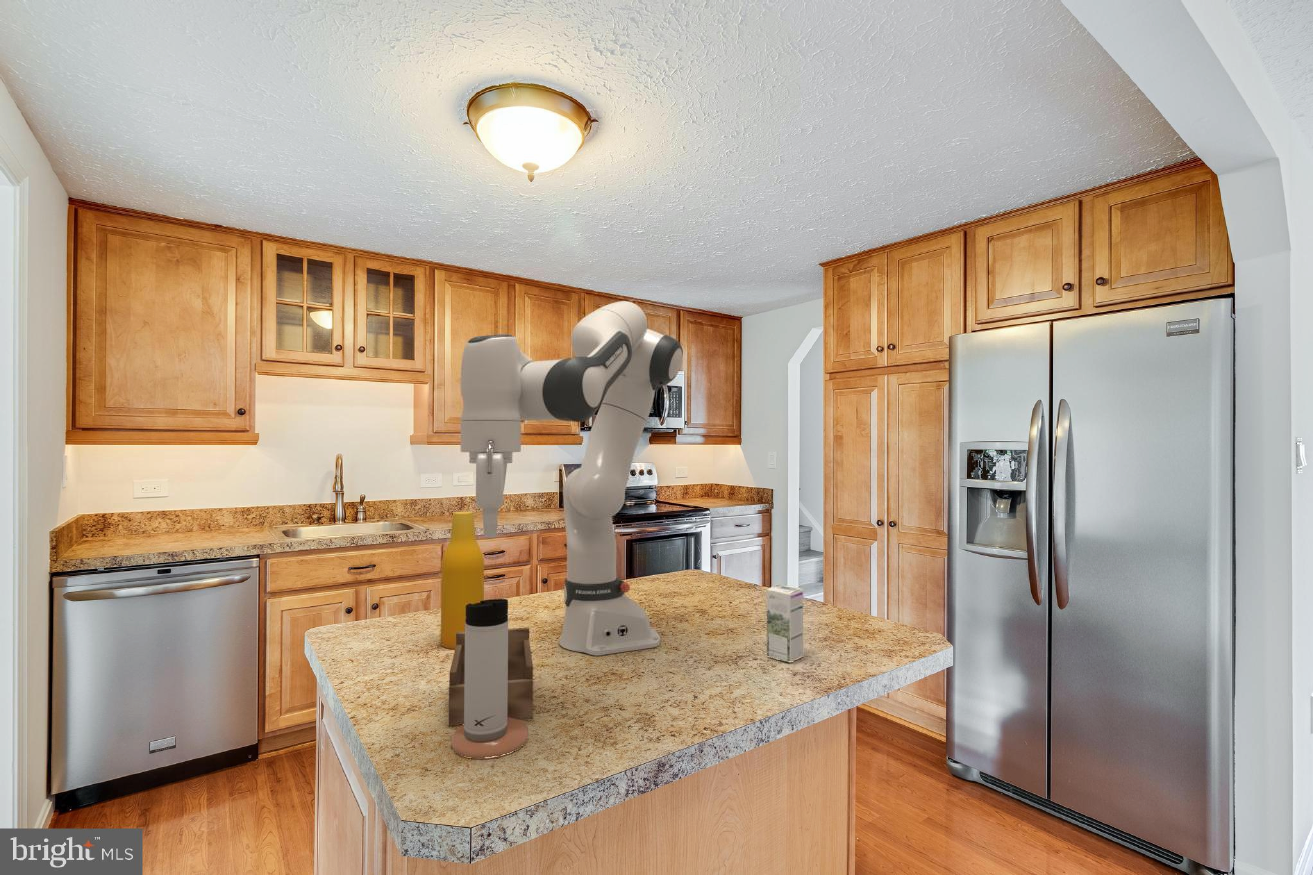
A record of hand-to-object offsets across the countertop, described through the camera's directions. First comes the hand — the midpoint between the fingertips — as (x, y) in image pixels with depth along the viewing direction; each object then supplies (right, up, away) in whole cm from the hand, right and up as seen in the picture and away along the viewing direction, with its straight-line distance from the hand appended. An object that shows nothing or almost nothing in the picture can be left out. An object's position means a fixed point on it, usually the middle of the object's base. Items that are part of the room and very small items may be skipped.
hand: (490, 532), depth 94 cm
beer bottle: (-18, -32, +45) cm, 58 cm away
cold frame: (-3, -31, +13) cm, 34 cm away
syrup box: (+52, -32, +36) cm, 71 cm away
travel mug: (0, -30, -1) cm, 30 cm away
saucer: (0, -31, -1) cm, 31 cm away
